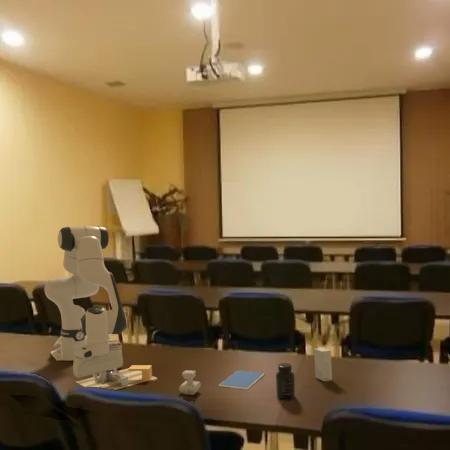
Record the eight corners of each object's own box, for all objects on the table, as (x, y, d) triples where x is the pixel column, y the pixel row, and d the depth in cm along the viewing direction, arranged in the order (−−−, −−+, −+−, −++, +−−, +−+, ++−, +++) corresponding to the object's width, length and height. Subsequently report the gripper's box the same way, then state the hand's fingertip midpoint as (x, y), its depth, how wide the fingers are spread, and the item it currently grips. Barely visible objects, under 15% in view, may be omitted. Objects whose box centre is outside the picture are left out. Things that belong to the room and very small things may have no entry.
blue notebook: (247, 391, 209) (247, 388, 209) (218, 387, 214) (217, 384, 214) (265, 375, 226) (265, 372, 226) (237, 372, 232) (237, 369, 231)
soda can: (118, 371, 236) (117, 344, 235) (103, 371, 237) (102, 344, 236) (125, 366, 243) (124, 340, 242) (110, 366, 244) (109, 339, 243)
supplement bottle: (274, 394, 204) (274, 362, 203) (292, 393, 204) (292, 361, 203) (278, 400, 197) (277, 368, 196) (296, 399, 197) (296, 367, 197)
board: (75, 383, 222) (75, 381, 222) (132, 369, 239) (132, 367, 239) (98, 396, 206) (98, 394, 206) (157, 379, 223) (157, 378, 223)
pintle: (105, 380, 225) (105, 365, 225) (110, 379, 226) (109, 364, 226) (108, 381, 223) (107, 367, 223) (112, 380, 225) (112, 365, 224)
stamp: (194, 398, 202) (193, 376, 201) (177, 397, 204) (177, 374, 203) (202, 389, 210) (201, 368, 210) (186, 388, 212) (185, 367, 212)
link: (99, 378, 225) (98, 370, 225) (112, 375, 229) (111, 367, 229) (118, 387, 213) (117, 379, 213) (131, 384, 217) (131, 376, 217)
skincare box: (332, 380, 217) (332, 350, 216) (323, 382, 215) (322, 351, 214) (323, 375, 222) (322, 346, 222) (314, 377, 221) (313, 348, 220)
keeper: (128, 382, 222) (128, 369, 221) (132, 378, 227) (131, 365, 226) (149, 382, 221) (149, 368, 221) (152, 378, 226) (151, 365, 226)
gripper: (117, 341, 224) (118, 375, 225) (70, 352, 211) (72, 387, 211) (125, 344, 219) (126, 378, 220) (77, 355, 206) (79, 391, 207)
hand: (99, 382), depth 215 cm, fingers closed
